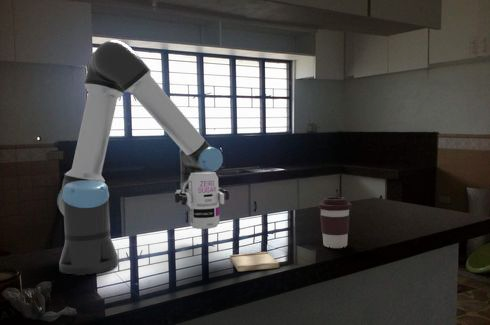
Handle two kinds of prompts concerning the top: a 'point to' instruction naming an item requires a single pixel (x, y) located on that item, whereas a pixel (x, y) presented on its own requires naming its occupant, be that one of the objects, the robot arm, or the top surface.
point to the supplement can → (204, 200)
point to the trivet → (253, 261)
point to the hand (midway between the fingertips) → (206, 200)
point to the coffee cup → (335, 221)
